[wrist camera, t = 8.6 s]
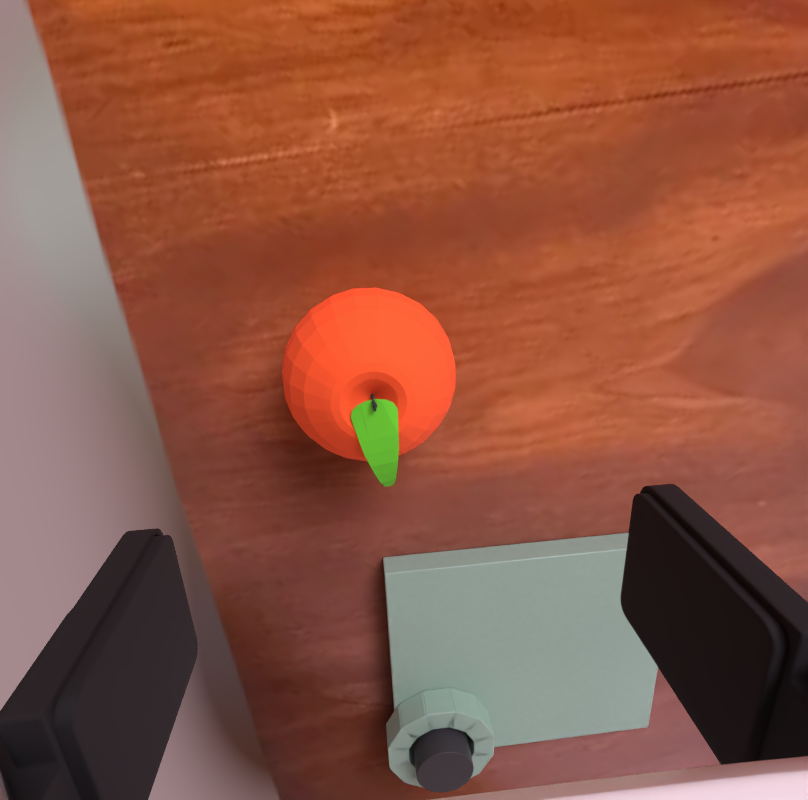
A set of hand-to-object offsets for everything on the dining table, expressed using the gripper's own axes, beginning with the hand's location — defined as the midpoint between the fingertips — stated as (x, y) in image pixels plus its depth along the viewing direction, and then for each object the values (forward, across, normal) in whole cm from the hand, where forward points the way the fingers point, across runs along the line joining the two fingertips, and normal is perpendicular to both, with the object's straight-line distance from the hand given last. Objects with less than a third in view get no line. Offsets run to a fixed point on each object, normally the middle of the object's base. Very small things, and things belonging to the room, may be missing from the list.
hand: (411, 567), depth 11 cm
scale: (+15, -8, +18) cm, 25 cm away
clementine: (+15, 0, 0) cm, 15 cm away
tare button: (+12, -2, +23) cm, 26 cm away
